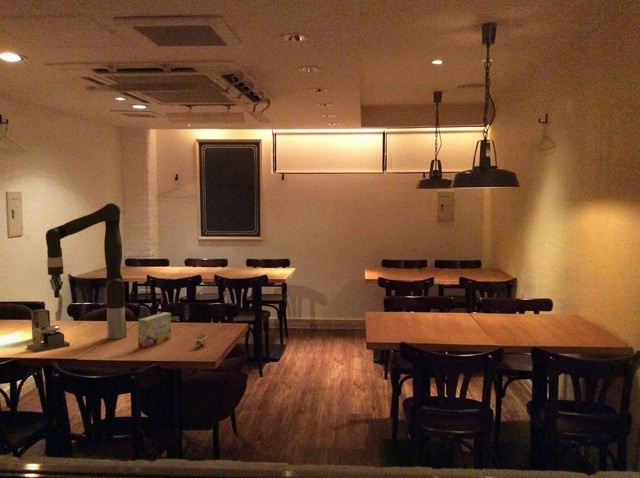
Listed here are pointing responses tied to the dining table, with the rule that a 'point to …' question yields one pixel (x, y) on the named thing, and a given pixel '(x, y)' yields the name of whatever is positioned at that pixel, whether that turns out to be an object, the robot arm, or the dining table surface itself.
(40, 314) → the coffee box
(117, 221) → the robot arm
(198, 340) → the pale green irregular piece
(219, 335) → the dining table surface
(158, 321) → the snack box
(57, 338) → the stand
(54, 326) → the plunger
